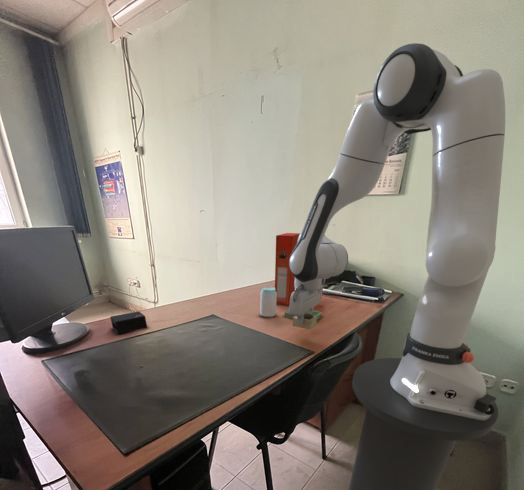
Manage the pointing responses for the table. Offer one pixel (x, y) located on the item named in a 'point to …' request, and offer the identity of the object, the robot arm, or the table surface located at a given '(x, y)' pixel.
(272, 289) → the can
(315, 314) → the tray
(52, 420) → the table surface
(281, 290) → the file binder
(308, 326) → the cream rectangular box
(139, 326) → the electronic device
